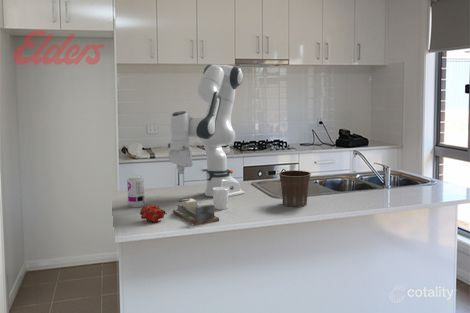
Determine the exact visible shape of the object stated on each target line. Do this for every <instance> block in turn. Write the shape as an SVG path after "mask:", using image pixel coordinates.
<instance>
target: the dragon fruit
mask: <svg viewBox="0 0 470 313" xmlns="http://www.w3.org/2000/svg"><path fill="white" fill-rule="evenodd" d="M139 214H140V219H141V220H146V222H149V223H151V222H154V223H160V222H161V221H162V220H161V219H163V218H164V217H165V215H167V211H166V210H165V209H163V208H161V207H160V206H158V205H157V204H155V205H154V204H145V205H144V206H142V208H141V209H140V212H139Z"/></svg>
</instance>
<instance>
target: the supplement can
mask: <svg viewBox="0 0 470 313" xmlns="http://www.w3.org/2000/svg"><path fill="white" fill-rule="evenodd" d="M126 180H127V181H126V182H127V202H128V203H127V204H128V206H129V207H130V208H141V207H142V208H143V207H144V206H145V205H146V204H145V200H146V199H145V180H144V177H143V176H142V175H130V176H128V178H127V179H126Z"/></svg>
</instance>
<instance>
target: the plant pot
mask: <svg viewBox="0 0 470 313" xmlns="http://www.w3.org/2000/svg"><path fill="white" fill-rule="evenodd" d="M311 175H312V173H311V172H310V171H305V170H295V169H294V170H284V171H280V172H278V176H279V182H280V186H281V187H280V188H281V197H282V198H281V199H282V205H283V204H284V205H283V206H285V205H287V206H286V207H290V206H294V207H297V206H302V207H304V205H305V206H306V205H307V204H308V196H309V194H308V193H309V182H310V179H311Z"/></svg>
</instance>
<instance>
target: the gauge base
mask: <svg viewBox="0 0 470 313" xmlns="http://www.w3.org/2000/svg"><path fill="white" fill-rule="evenodd" d="M172 213H173V215H176V216H177V217H179V218H181V219H183V220H184V221H187V222H188V223H190V224H191V225H193V226H198V225H205V224H210V223H217V222H220V217H218V216H216V215H215V208H214V203H212V204H211V203H210V204H204V205H198V204H197V206H196V212H193V211H191V210H189V209H187V208H185V207H183V206H182V204H177V209H174V210H172Z"/></svg>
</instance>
